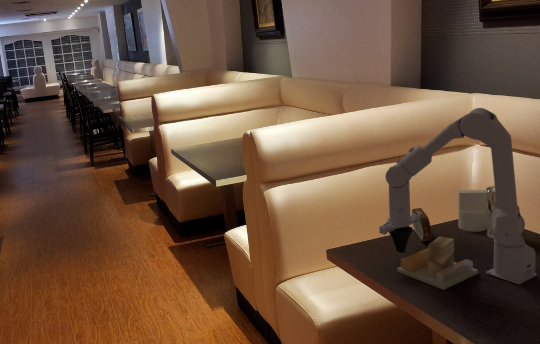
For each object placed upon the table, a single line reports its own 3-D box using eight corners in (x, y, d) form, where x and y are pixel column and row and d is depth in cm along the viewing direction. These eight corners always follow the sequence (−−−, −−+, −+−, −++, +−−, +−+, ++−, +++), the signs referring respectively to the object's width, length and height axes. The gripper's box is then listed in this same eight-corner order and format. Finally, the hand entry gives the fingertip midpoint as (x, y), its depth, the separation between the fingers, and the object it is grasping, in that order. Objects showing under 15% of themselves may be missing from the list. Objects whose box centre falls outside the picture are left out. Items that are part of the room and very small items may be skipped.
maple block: (453, 266, 148) (453, 238, 147) (443, 276, 143) (442, 247, 141) (439, 263, 151) (439, 236, 149) (428, 273, 146) (428, 244, 144)
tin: (432, 245, 167) (432, 218, 165) (422, 245, 167) (421, 219, 165) (420, 228, 182) (420, 204, 180) (410, 229, 182) (410, 204, 180)
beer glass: (480, 234, 173) (480, 188, 169) (498, 230, 174) (499, 184, 171) (495, 241, 166) (496, 193, 163) (514, 237, 168) (515, 189, 164)
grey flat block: (478, 273, 146) (478, 261, 145) (443, 289, 138) (443, 276, 137) (431, 257, 158) (431, 245, 157) (397, 271, 151) (396, 259, 150)
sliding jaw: (441, 259, 154) (441, 251, 153) (412, 271, 147) (412, 263, 147) (430, 255, 157) (430, 247, 156) (400, 267, 151) (400, 259, 150)
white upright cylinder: (459, 231, 176) (459, 195, 174) (457, 222, 185) (457, 187, 182) (489, 231, 174) (490, 195, 171) (486, 222, 183) (486, 187, 180)
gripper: (406, 197, 162) (407, 241, 165) (370, 209, 154) (372, 254, 157) (425, 202, 156) (426, 247, 159) (389, 214, 148) (390, 261, 152)
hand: (400, 251), depth 158 cm, fingers closed
